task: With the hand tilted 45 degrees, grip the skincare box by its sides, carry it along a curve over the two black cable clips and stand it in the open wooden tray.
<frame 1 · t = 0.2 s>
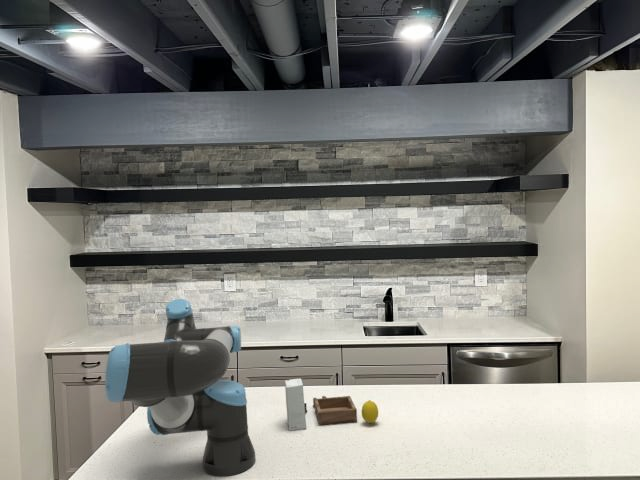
hand: (195, 382, 170), 15 cm above the countertop, tool tilted 35°, fingers open, 13 cm apart
plant pot: (200, 406, 190), on the countertop
open wooden tray: (335, 416, 174), on the countertop
clip b: (320, 407, 183), on the countertop
skincare box: (296, 425, 168), on the countertop
lemon: (370, 424, 166), on the countertop
clip a: (300, 414, 177), on the countertop
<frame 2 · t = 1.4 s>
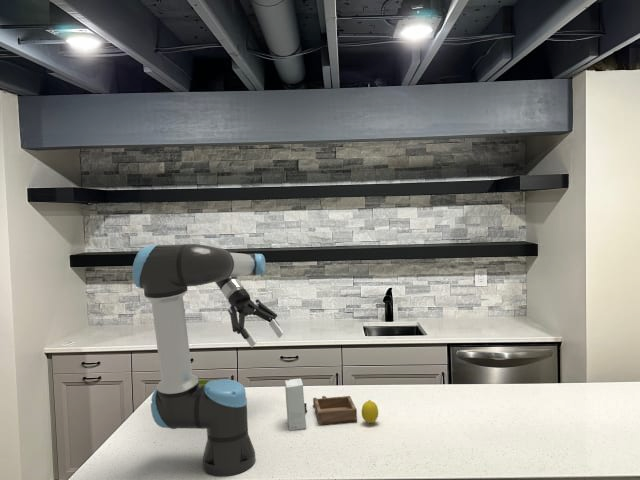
hand: (268, 340, 173), 28 cm above the countertop, tool tilted 45°, fingers open, 13 cm apart
nothing on the countertop moved.
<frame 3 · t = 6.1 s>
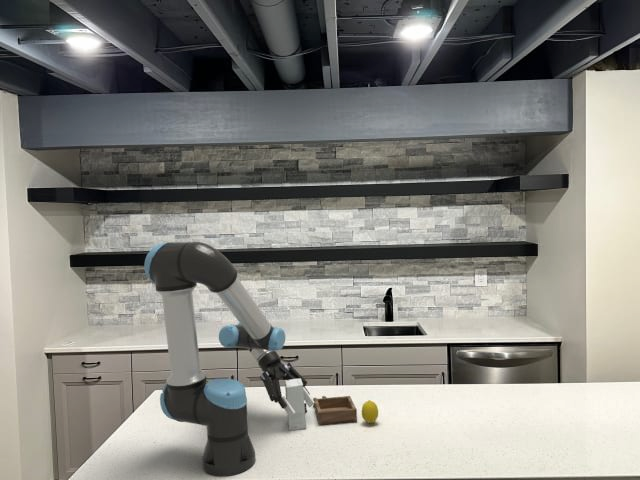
hand: (302, 409, 166), 6 cm above the countertop, tool tilted 45°, fingers closed on skincare box, 9 cm apart
skincare box: (296, 425, 168), on the countertop, touching gripper
everything else where it was.
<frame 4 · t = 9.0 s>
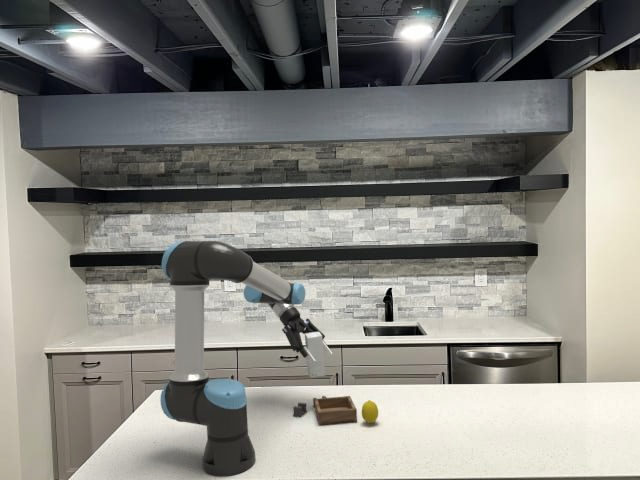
hand: (321, 359, 180), 18 cm above the countertop, tool tilted 45°, fingers closed on skincare box, 9 cm apart
skincare box: (315, 374, 182), point 12 cm above the countertop, touching gripper
everything else where it was.
when the fingers open (8 cm above the countertop, at t = 12.1 s): skincare box drops 1 cm, resting on open wooden tray.
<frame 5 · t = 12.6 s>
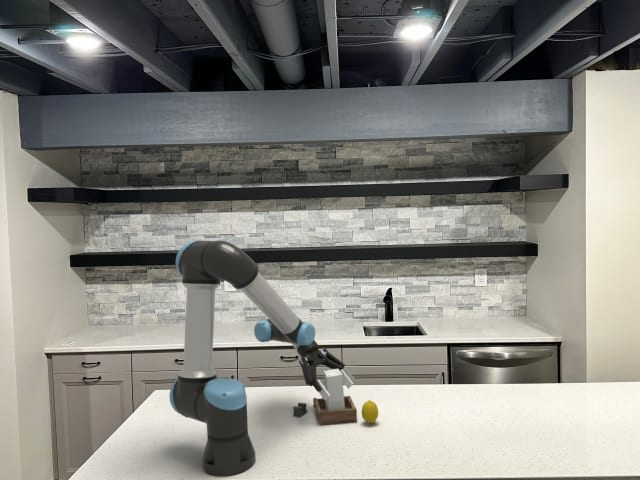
hand: (339, 392, 172), 9 cm above the countertop, tool tilted 45°, fingers open, 13 cm apart
skincare box: (335, 414, 174), point 1 cm above the countertop, touching open wooden tray
everything else where it was.
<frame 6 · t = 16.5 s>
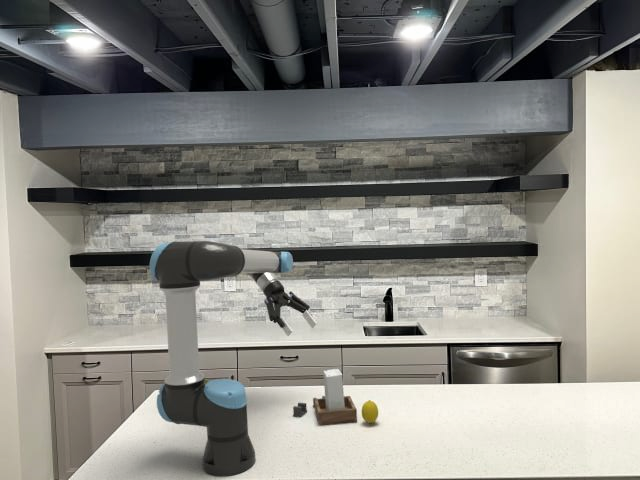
hand: (302, 329, 179), 30 cm above the countertop, tool tilted 45°, fingers open, 13 cm apart
nothing on the countertop moved.
at the end: skincare box inside the target area on the open wooden tray (0.1 cm from its centre), point 0.8 cm above the open wooden tray's base; skincare box tilted 0°; the gripper is holding nothing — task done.
